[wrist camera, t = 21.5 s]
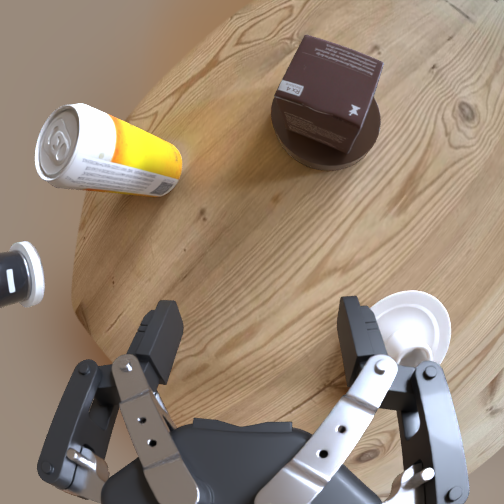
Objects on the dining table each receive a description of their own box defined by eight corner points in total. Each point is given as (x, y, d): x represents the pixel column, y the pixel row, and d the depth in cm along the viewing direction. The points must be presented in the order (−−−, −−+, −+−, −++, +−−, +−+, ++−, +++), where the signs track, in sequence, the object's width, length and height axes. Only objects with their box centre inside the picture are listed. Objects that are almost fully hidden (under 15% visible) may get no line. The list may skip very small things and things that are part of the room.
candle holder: (325, 334, 27) (326, 353, 22) (421, 265, 24) (439, 273, 20) (376, 406, 26) (382, 429, 22) (460, 348, 23) (477, 364, 19)
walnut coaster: (274, 169, 26) (270, 164, 23) (274, 79, 25) (270, 68, 22) (377, 173, 24) (384, 169, 21) (370, 82, 23) (374, 71, 20)
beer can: (164, 133, 28) (66, 85, 13) (196, 168, 27) (97, 129, 13) (129, 172, 29) (25, 152, 14) (158, 209, 29) (48, 206, 14)
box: (369, 101, 21) (387, 62, 14) (347, 156, 22) (362, 130, 15) (307, 77, 22) (304, 32, 15) (283, 129, 23) (272, 95, 16)
